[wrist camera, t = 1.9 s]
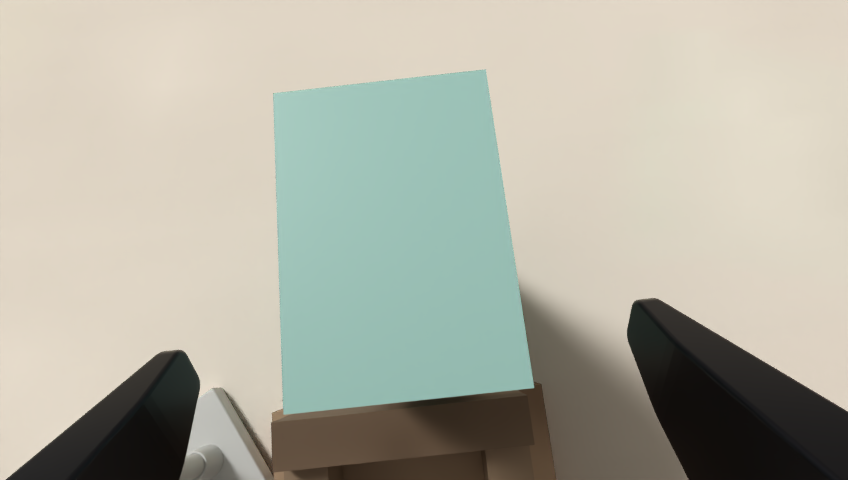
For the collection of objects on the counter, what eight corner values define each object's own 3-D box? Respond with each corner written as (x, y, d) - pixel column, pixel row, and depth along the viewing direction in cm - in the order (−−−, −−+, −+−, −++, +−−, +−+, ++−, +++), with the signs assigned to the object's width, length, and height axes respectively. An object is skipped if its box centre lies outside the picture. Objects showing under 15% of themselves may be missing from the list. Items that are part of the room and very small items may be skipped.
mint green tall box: (472, 363, 19) (534, 388, 6) (385, 372, 19) (282, 414, 6) (455, 224, 20) (479, 27, 8) (374, 233, 20) (271, 50, 8)
